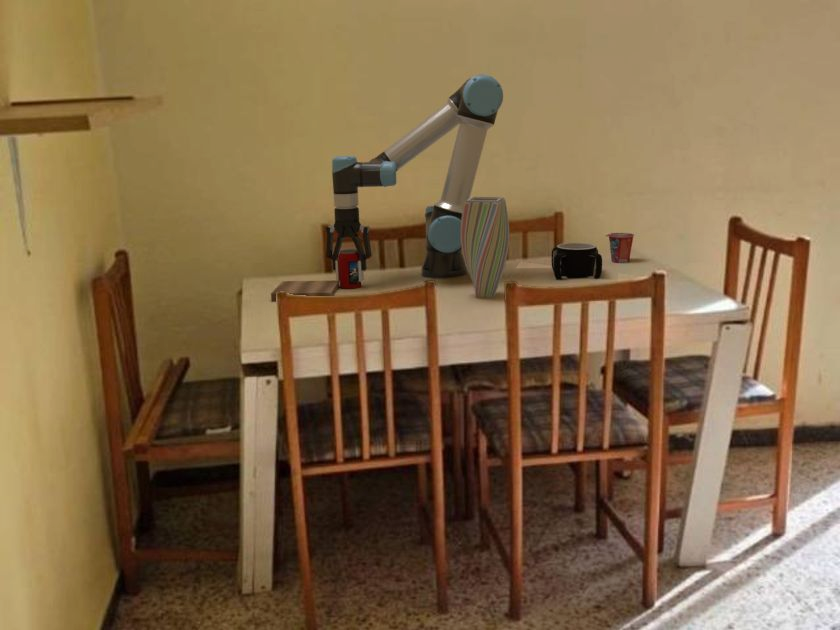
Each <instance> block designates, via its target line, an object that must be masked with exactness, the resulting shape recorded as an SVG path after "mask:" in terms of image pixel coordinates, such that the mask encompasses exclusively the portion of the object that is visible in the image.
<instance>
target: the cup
mask: <svg viewBox="0 0 840 630" xmlns="http://www.w3.org/2000/svg"><path fill="white" fill-rule="evenodd" d="M605 237H608V239H609V249H610V259H611V262H612V263H613V264H625V263H629V262H630V258H631V253H632V245H633V241H634V237H635V234H634V233H631V232H612V233H608V234H606V235H605Z"/></svg>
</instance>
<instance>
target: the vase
mask: <svg viewBox="0 0 840 630" xmlns="http://www.w3.org/2000/svg"><path fill="white" fill-rule="evenodd" d="M460 235H461V245H462V254H463V257H464V260H465V263H466V266H467V272H468V274H469V276H470V279H471V283H472V285H473V289H474V293H475V295H474V296H475V298H476V299H477V298H480V299H481V298H482V299H483V298H495V297H496V295H497V291H498V288H499V285H500V283H501V280H502V276H503V273H504V269H505V266H506V264H507V263H506V262H507V258H508V252H509V245H510V244H509V243H510V223H509V213H508V207H507V201H506V199H505V198H504V197H503V196H470V198H469V199H468V200H466V201H465V202H464V205H463V212H462V219H461V234H460Z"/></svg>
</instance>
